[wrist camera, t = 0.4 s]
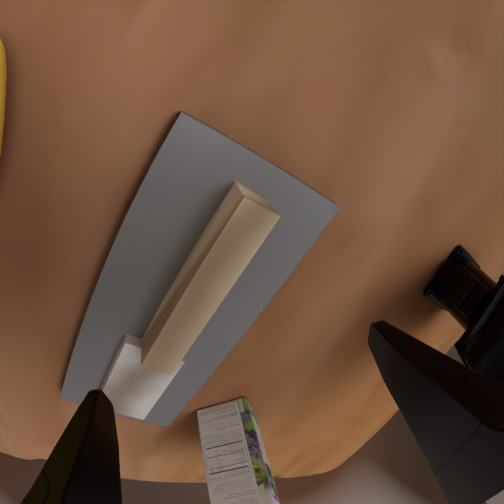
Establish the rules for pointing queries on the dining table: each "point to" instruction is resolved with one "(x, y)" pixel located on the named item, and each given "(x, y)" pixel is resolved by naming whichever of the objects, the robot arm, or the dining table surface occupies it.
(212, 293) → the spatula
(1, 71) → the teapot
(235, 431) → the syrup box
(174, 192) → the charcoal board
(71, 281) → the dining table surface
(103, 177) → the dining table surface
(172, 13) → the dining table surface
